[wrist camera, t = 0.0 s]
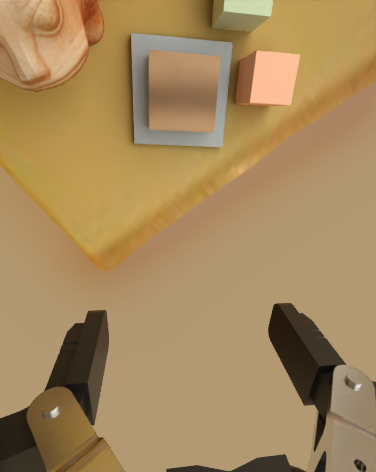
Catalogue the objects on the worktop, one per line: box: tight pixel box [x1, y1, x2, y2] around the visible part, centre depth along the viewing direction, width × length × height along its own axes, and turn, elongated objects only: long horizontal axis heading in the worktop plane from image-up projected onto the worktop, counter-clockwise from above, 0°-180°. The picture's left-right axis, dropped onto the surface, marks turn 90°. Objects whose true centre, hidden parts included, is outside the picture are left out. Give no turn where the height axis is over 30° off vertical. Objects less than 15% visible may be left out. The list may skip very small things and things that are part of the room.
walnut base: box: [149, 50, 221, 133], centre depth 32 cm, size 8×8×3 cm
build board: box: [131, 33, 233, 147], centre depth 34 cm, size 12×12×1 cm
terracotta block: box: [235, 51, 300, 106], centre depth 32 cm, size 5×5×6 cm
